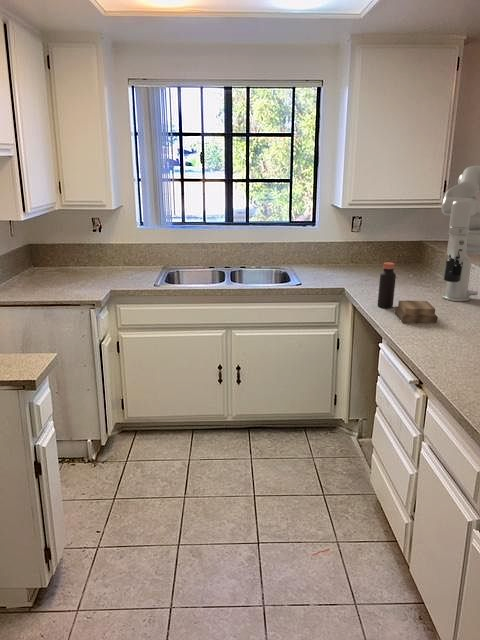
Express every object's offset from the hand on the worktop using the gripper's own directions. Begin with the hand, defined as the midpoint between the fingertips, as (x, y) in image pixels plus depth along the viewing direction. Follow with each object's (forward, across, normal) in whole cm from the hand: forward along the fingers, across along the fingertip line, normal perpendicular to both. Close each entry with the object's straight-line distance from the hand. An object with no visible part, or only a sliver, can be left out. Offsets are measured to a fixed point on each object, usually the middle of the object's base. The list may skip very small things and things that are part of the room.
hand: (452, 272), depth 219 cm
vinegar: (+19, +11, +24) cm, 33 cm away
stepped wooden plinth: (+18, -6, +15) cm, 25 cm away
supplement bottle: (+4, 0, 0) cm, 4 cm away
